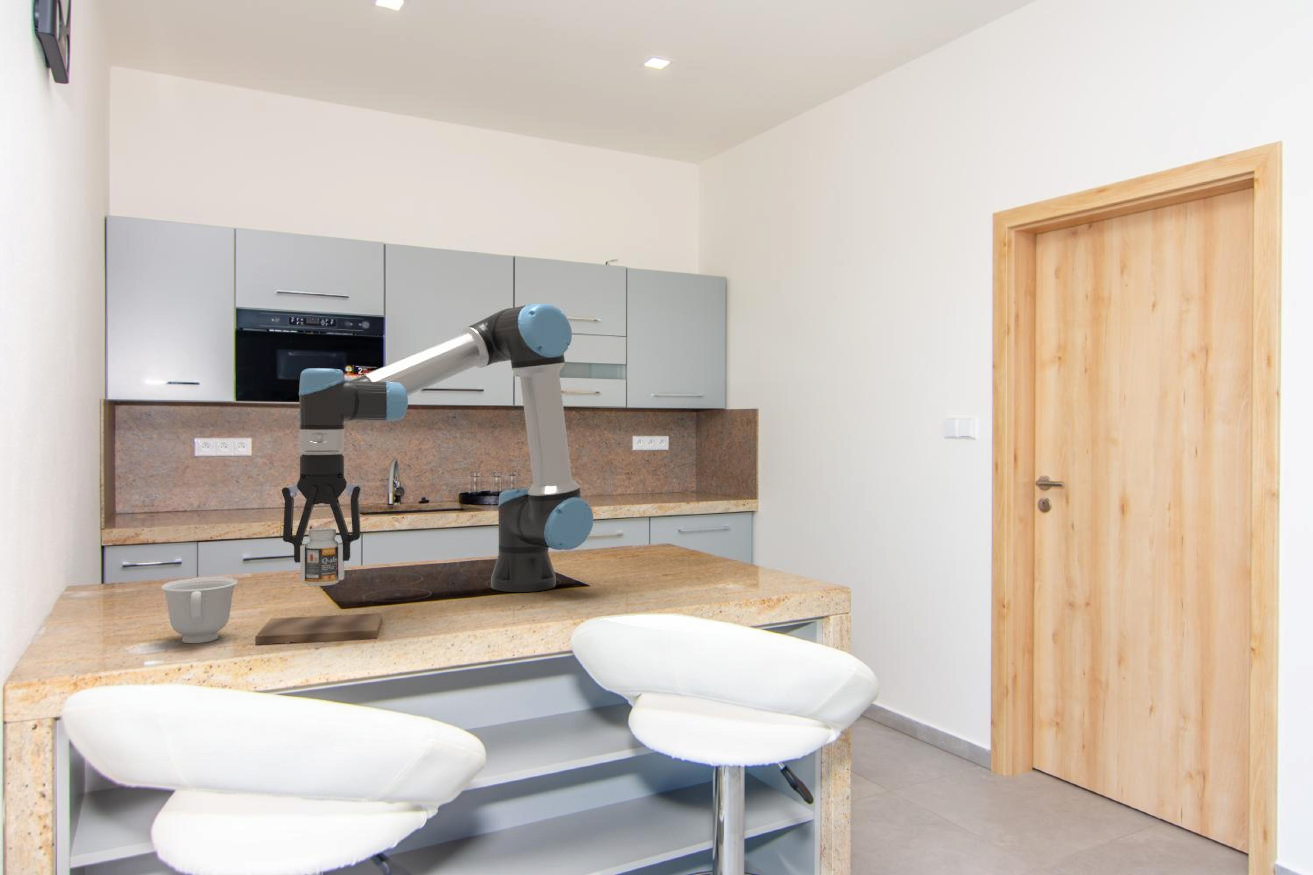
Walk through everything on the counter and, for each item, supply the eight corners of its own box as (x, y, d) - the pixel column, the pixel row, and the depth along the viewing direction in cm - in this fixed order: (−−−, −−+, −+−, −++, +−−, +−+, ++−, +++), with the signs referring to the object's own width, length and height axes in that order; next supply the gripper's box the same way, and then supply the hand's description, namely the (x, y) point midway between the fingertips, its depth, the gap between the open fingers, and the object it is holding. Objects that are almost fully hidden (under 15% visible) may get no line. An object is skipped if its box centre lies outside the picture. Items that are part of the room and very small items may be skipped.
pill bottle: (327, 587, 154) (327, 532, 154) (299, 586, 155) (298, 531, 155) (345, 581, 160) (345, 528, 160) (317, 580, 161) (317, 527, 161)
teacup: (154, 655, 142) (153, 595, 141) (165, 634, 155) (165, 579, 155) (235, 648, 146) (235, 589, 146) (239, 628, 160) (239, 575, 160)
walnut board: (381, 620, 167) (381, 613, 167) (376, 638, 153) (376, 630, 153) (270, 626, 162) (270, 618, 162) (255, 645, 148) (255, 636, 148)
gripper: (262, 454, 151) (263, 585, 152) (374, 453, 156) (374, 580, 156) (270, 452, 158) (271, 577, 159) (377, 452, 163) (377, 573, 163)
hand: (322, 579), depth 158 cm, fingers closed on pill bottle, 6 cm apart
